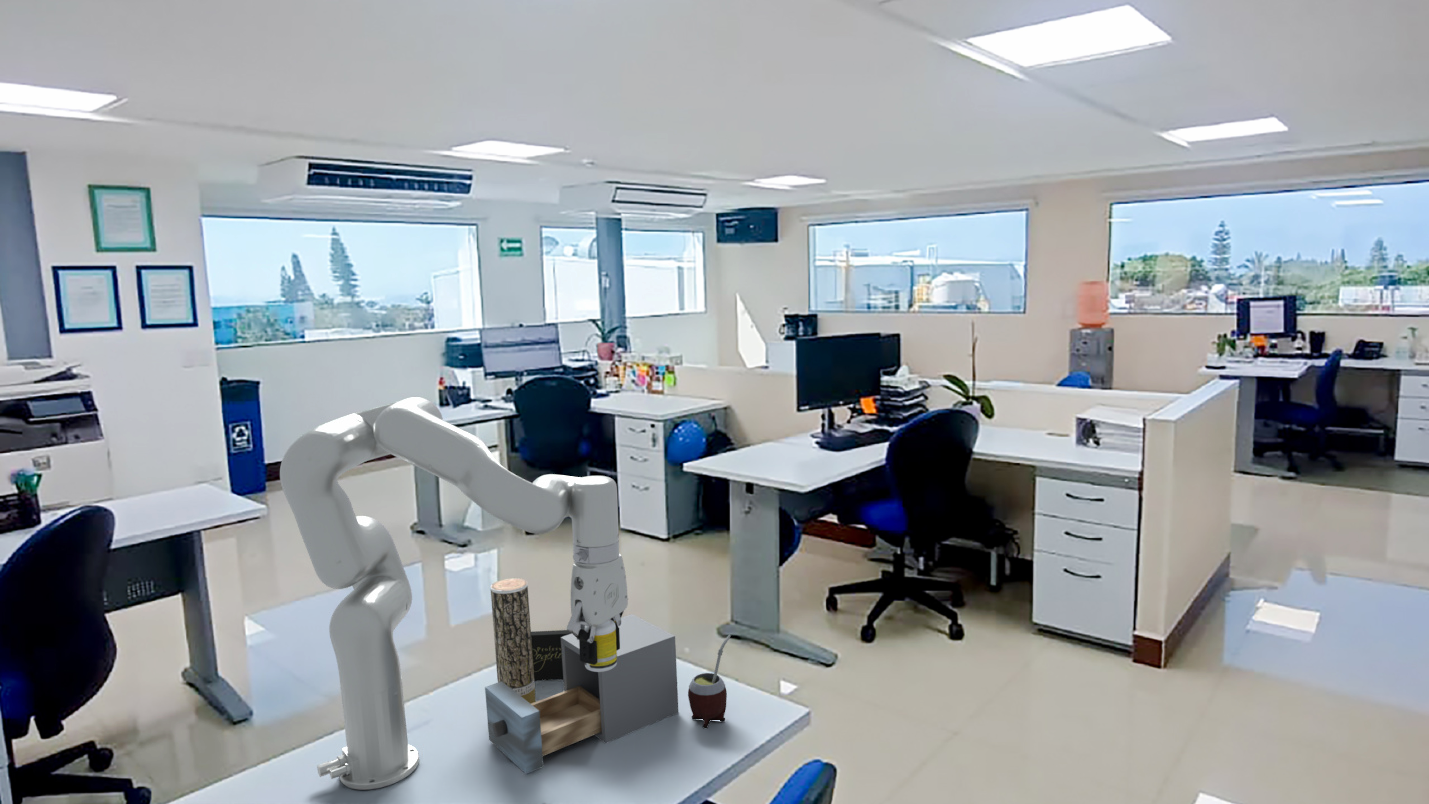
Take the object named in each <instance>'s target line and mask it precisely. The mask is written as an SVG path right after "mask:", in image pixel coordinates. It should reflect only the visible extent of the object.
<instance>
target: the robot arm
mask: <svg viewBox="0 0 1429 804" xmlns="http://www.w3.org/2000/svg"><path fill="white" fill-rule="evenodd" d="M388 455H392V456H394V457H396V458H398V459H400V460H403V461H405V462H406V463H408V464H410V465H413V466H416V467H417V468H419V469H420V470H421V469H422V470H423V471H425V472H427V473H429V474H430V475H431V474H432V475H433V476H436V477H437V478H439V479H441V480H444V481H445V482H447V483H449V484H452V485H454V486H455V487H456V488H458V489H459V491H461V492H462V493H463V495H465V496H466V497H467V498H468V499H470V500H471V501H472V502H474V504H476V505H477V506H478V507H479V508H481V509H482V510H484V511H485V512H486V513H488V514H489V515H491V516H493V517H494V518H496V519H499V520H501V521H503V522H505V523H506V524H509V525H511V526H513V527H515V528H517V529H519V530H523V531H524V532H527V533H531V534H536V535H538V534H539V535H544V534H548V533H551V532H554V531H555V530H556V529H557V528H559V526H561V524H562V522H563V521H564V519H565V518H568V517H569V518H570V519H571V527H572V531H571V532H572V553H573V555H572V559H573V564H572V568H571V577H570V578H571V579H570V581H571V582H570V612H571V613H570V614H571V616H570V619H569V622H568V623H567V625H566V630H568V631H569V632H571V633H572V634H573V635H574V636H575V637H576V638H577V640H579V647H580V661H581V662H584V663H588V664H592V665H595V664H597V642H596V641H594V636H595V629H596V626H599V625H601V624H603V623H604V622H606V621H608V620H610V619H611V620H612V621H614V623H615V625H616V648H617V650H619V649H620V633H619V627H618V626H620V625H621V617H623V614H624V611H626V609H627V608H628V604H629V602H628V600H629V598H628V586H627V585H628V584H627V576H626V570H625V564H624V560H623V557H622V554H621V553H620V539H619V537H620V536H619V535H620V534H619V509H618V508H619V507H618V506H619V505H618V503H619V502H618V487H617V483H616V481H615V480H614V479H613V478H611V477H609V476H605V475H587V476H582V477H581V476H579V477H578V476H570V475H564V474H555V473H554V474H553V473H549V474H543V475H541V476H539V477H537V478H536V479H535V480H533V481H532V482H531V481H529V480H527V479H524V478H523V477H521V476H519V475H516V474H515V473H514V472H511V471H510V470H508V469H507V468H505V467H504V466H503V465H502V464H500V463H499V461H497V460H496V458H494V456H493V455H492V453H491V452H490V449H489V447H488V445H487V443H486V442H485V441H484V440H483V439H482V438H480V437H478V436H477V435H475V434H473V433H470V432H468V431H466V430H464V429H462V428H459V426H456V425H453V424H452V423H449V422H447V421H445V420H444V419H443V415H442V413H441V411H440V409H439V408H438V406H437V405H436V404H435V403H434V402H432V401H430V400H428V399H426V398H423V397H419V396H417V397H416V396H415V397H414V396H413V397H408V398H407V397H406V398H404V399H401V400H397V401H394V402H392V403H387V404H385V405H380V406H376V407H372V408H370V409H365V410H362V411H358V412H357V411H356V412H354V413H351V414H347V415H344V416H342V417H338V418H335V419H333V420H331V421H327V422H325V423H322V424H320V425H318V426H317V425H316V426H315V427H313V428H311V429H309V430H307V431H306V432H305V433H303V434H301V436H299V437H297V439H296V440H295V441H294V442H293V443H292V444H291V445H290V446H289V447H288V449H287V450H286V451H285V453H284V455H283V458H282V460H281V463H280V468H279V481H280V485H281V488H282V491H283V493H284V496H285V498H286V501H287V502H288V505H289V507H290V509H291V511H292V514H293V515H294V519H295V521H296V524H297V527H298V530H299V532H300V536H301V539H302V540H303V543H304V546H305V549H306V551H307V554H308V556H309V559H310V560H311V563H312V567H313V569H314V571H315V573H316V576H317V577H318V578H319V580H320V582H321V583H322V584H323V585H324V586H326V587H328V588H331V589H334V590H344V589H347V588H350V587H352V588H353V590H352V591H350V592H349V593H348V594H347V596H346V597H344V598H343V599H342V600H341V601H340V603H339V604H338V605H336V608H335V609H334V610H333V613H332V615H331V618H330V622H329V628H328V629H329V637H330V642H331V645H332V648H333V652H334V655H335V659H336V663H337V669H338V676H339V685H340V691H341V693H340V694H341V702H342V703H341V704H342V710H343V711H342V713H343V721H344V722H343V723H344V730H345V741H346V742H345V743H346V746H345V747H343V748H341V750H342V751H341V752H342V754H340V755H338V756H336V759H332V760H328V761H326V762H323V763H321V764H318V765H316V766H317V767H316V768H317V774H318V776H319V777H320V778H321V777H324V776H326V775H329V777H330V779H331V780H333V779H335V778H339V779H340V782H341V783H342V784H343V785H344V786H346V787H347V788H349V789H352V790H353V789H354V790H361V791H362V790H365V791H367V790H374V789H379V788H380V789H381V788H384V787H387V786H390V785H394V784H396V783H398V782H400V781H402V780H403V779H405V778H406V777H408V776H410V774H412V773H413V772H414V771H415V770H416V768H417V767H418V765H419V761H420V757H419V756H420V755H419V751H418V750H417V748H416V747H414V746H412V745H410V744H409V743H408V741H409V740H408V731H407V730H408V729H407V719H406V709H405V700H404V699H405V698H404V689H403V686H404V685H403V679H402V669H401V660H400V656H399V652H398V650H397V647H396V644H395V641H394V632H395V630H396V629H397V627H398V625H399V624H400V623H401V622H402V621H403V619H404V618H405V617H406V616H407V614H408V612H409V611H410V608H411V607H412V600H413V593H412V589H411V588H412V587H411V585H410V582H409V579H408V575H407V573H406V571H405V568H404V565H403V563H402V560H401V558H400V555H399V552H398V549H397V547H396V544H395V542H394V540H393V537H392V535H391V533H390V531H389V530H388V529H387V528H386V526H385V525H384V524H383V523H382V522H381V521H379V520H377V518H373V517H371V516H367V515H366V516H365V515H357V516H356V514H355V511H354V508H353V505H352V502H351V500H350V498H349V496H348V494H347V492H346V491H345V490H344V489H343V487H342V486H341V484H339V482H338V481H339V480H338V479H339V477H340V476H341V475H343V474H344V473H346V472H348V471H350V470H352V469H354V468H357V467H358V466H359V465H361V464H363V463H366V462H367V461H372V460H374V459H378V458H381V457H385V456H388ZM585 625H586V626H589V630H588V633H587V632H586V631H585V630H584V629H585Z"/></svg>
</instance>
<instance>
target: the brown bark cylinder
mask: <svg viewBox="0 0 1429 804" xmlns="http://www.w3.org/2000/svg"><path fill="white" fill-rule="evenodd" d="M528 587H529V585H528V581H527V580H525V579H524V578H520V577H519V578H518V577H517V578H515V577H514V578H513V577H511V578H505V579H500V580H497V581H495V582H493V583H492V584H490V599H491V600H490V601H491V610H492V611H491V612H492V613H491V614H492V625H493V637H494V638H493V639H494V650H495V652H494V653H495V663H496V676H497V678H496V680H497V683H498V682H501V681H502V682H503V683H505V684H506V685H507V686H509V687H510V688H511V689H512V690H514V691H515V692H516V693H517V694H519V695H520V696H521V697H522V698H524V699H525V700H526V701H528V702H529V703H530V704H531V703H534V702H537V700H536V688H535V687H536V685H535V681H534V669H533V655H532V641H531V632H532V630H531V629H532V627H531V626H532V625H531V616H530V601H529V600H530V599H529V588H528Z"/></svg>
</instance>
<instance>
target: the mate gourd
mask: <svg viewBox="0 0 1429 804" xmlns="http://www.w3.org/2000/svg"><path fill="white" fill-rule="evenodd" d="M731 636H732V635H731V634H730V633H729V634H728V635H727V636H726V638H725V639H724V640H723V642H722V644H721V645H720V648H719V649H718V651H717V659H716V663H715V664H716V665H715V668H714V673H713V672H703V673H699V674H696V675H695V676H694V677H693V678H692V680H691V682H690V683H689V685H688V691H687V693H688V694H687V697H688V702H689V706H690V711H691V713H692V716H691V720H692V719H703V720H704V721H703V724H702V728H703V727H704V728H707V729H708V727H709V725H710V723H709V721H710V720H720V721H726V717H725V715H726V709H727V698H728V695H727V692H728V691H727V687H726V684H725V682H724V680H723V679H722V677H721V676H719V675H718V673H719V667H720V664H721V663H720V662H721V658H722V656H723V652H724V648H725V646H726V644H727V643H728V641H729V639H730V638H731ZM708 724H709V725H708ZM707 726H708V727H707ZM704 728H703V729H704Z"/></svg>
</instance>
